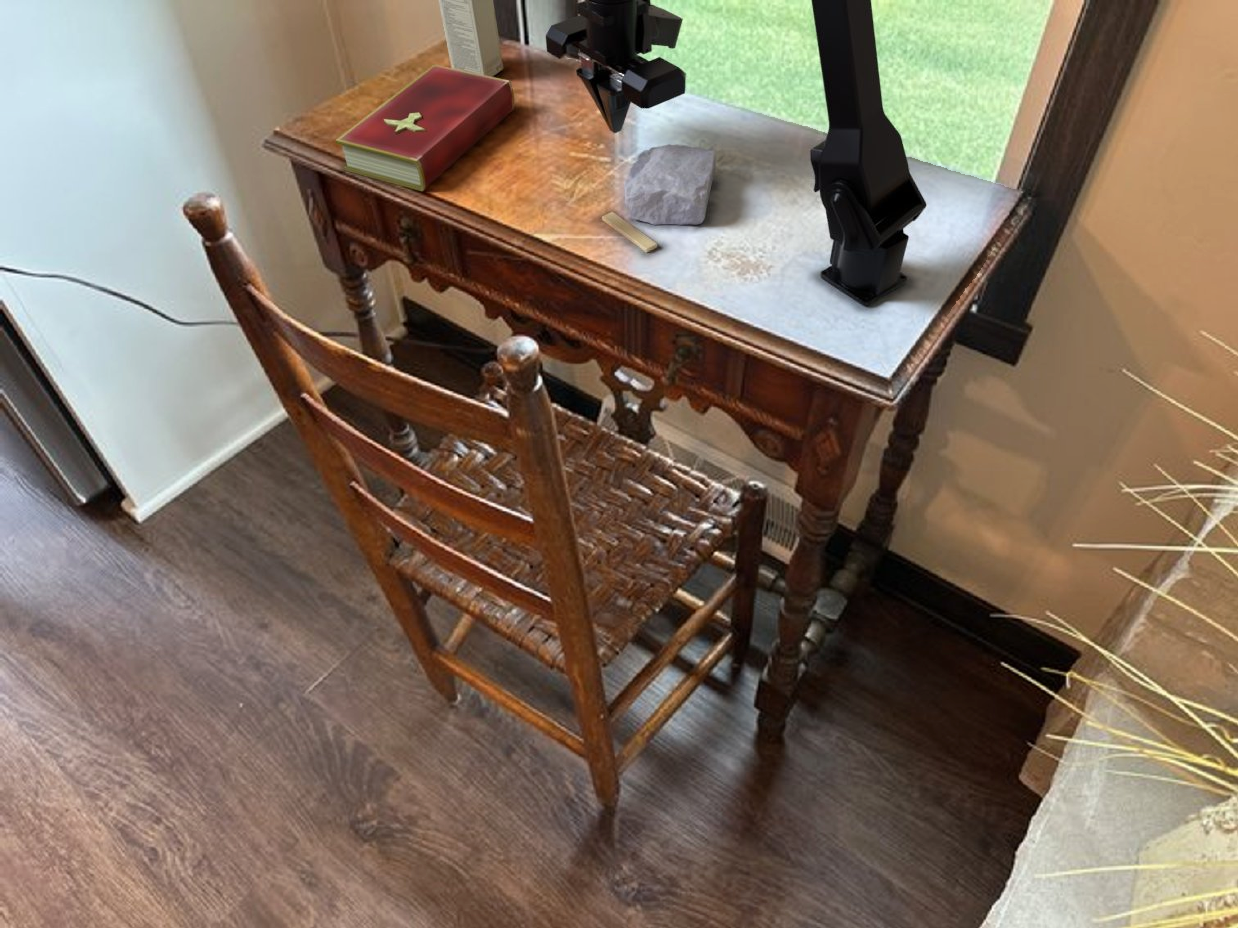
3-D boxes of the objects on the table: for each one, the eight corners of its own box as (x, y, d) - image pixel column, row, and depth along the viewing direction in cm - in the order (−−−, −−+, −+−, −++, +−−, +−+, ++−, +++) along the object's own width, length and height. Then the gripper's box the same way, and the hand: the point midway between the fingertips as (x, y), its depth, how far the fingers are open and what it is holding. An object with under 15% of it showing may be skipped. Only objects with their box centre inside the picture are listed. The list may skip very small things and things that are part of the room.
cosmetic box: (504, 70, 127) (492, -23, 118) (484, 83, 125) (471, -10, 116) (469, 60, 130) (455, -32, 120) (449, 72, 127) (433, -20, 118)
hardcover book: (515, 110, 120) (512, 79, 116) (425, 192, 107) (418, 159, 104) (439, 92, 123) (433, 62, 120) (343, 170, 111) (334, 138, 108)
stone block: (624, 235, 103) (711, 226, 101) (614, 198, 100) (704, 187, 97) (640, 182, 111) (721, 172, 109) (631, 145, 108) (715, 134, 105)
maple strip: (657, 247, 99) (657, 243, 99) (646, 252, 98) (646, 249, 98) (612, 215, 103) (612, 211, 103) (602, 220, 103) (601, 216, 102)
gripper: (727, -1, 94) (719, 139, 106) (617, -52, 104) (621, 81, 116) (643, 31, 90) (644, 172, 102) (537, -25, 100) (549, 109, 112)
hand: (615, 131), depth 108 cm, fingers closed
